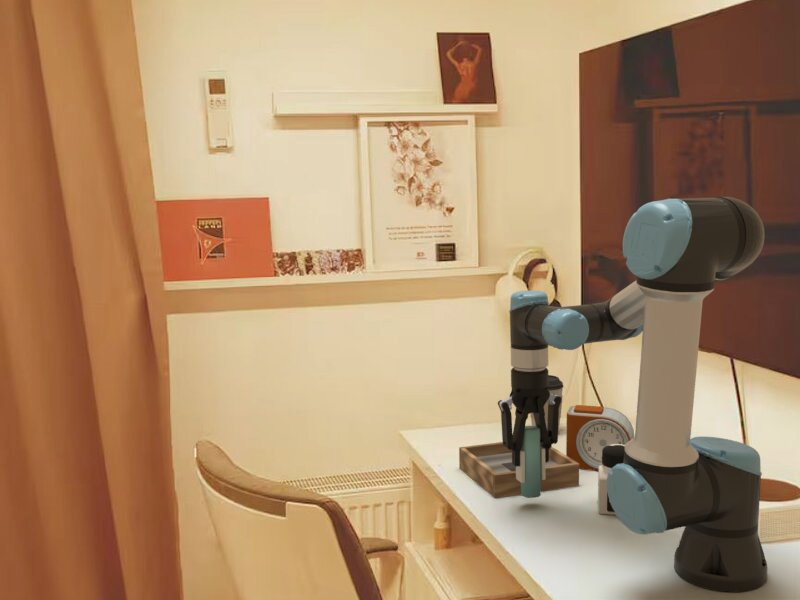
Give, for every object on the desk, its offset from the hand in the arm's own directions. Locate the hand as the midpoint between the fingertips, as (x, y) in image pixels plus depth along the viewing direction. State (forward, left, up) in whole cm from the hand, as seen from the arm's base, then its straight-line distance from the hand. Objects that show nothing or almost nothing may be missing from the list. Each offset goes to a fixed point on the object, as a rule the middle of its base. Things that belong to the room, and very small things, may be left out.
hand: (530, 478), depth 186 cm
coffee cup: (+44, -26, -6) cm, 51 cm away
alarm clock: (+17, -26, -6) cm, 31 cm away
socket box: (+17, -5, -6) cm, 18 cm away
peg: (0, 0, -3) cm, 3 cm away
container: (-7, -16, -6) cm, 19 cm away
